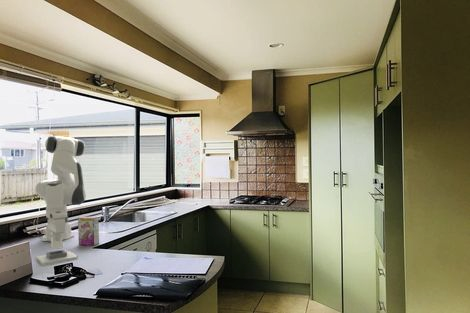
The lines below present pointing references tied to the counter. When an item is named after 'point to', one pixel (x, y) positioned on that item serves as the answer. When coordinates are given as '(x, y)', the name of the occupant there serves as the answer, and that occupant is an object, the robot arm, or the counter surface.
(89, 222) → the candy bar box
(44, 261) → the socket plate
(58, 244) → the charger block
